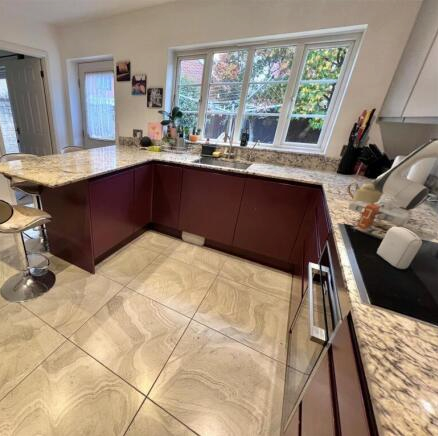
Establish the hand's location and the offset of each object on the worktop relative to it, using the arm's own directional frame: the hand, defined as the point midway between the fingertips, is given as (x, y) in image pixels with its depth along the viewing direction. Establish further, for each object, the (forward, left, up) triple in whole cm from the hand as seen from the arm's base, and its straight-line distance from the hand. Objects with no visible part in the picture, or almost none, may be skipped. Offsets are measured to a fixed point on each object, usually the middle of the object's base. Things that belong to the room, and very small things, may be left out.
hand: (368, 214), depth 100 cm
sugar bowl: (+20, -43, -8) cm, 48 cm away
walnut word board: (-3, -13, -8) cm, 15 cm away
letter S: (0, -1, -6) cm, 6 cm away
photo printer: (-17, +18, -8) cm, 26 cm away
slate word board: (-6, -1, -8) cm, 10 cm away
